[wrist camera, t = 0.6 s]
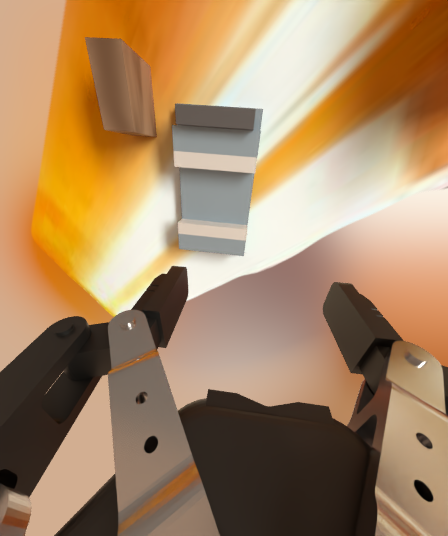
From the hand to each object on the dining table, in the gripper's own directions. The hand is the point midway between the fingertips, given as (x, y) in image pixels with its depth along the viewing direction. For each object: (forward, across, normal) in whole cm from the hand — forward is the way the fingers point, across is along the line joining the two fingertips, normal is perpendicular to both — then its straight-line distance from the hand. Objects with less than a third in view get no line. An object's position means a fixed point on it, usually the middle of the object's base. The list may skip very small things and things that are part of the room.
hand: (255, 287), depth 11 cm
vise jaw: (+24, +6, -8) cm, 26 cm away
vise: (+26, +6, -1) cm, 27 cm away
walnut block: (+26, +18, -12) cm, 34 cm away
